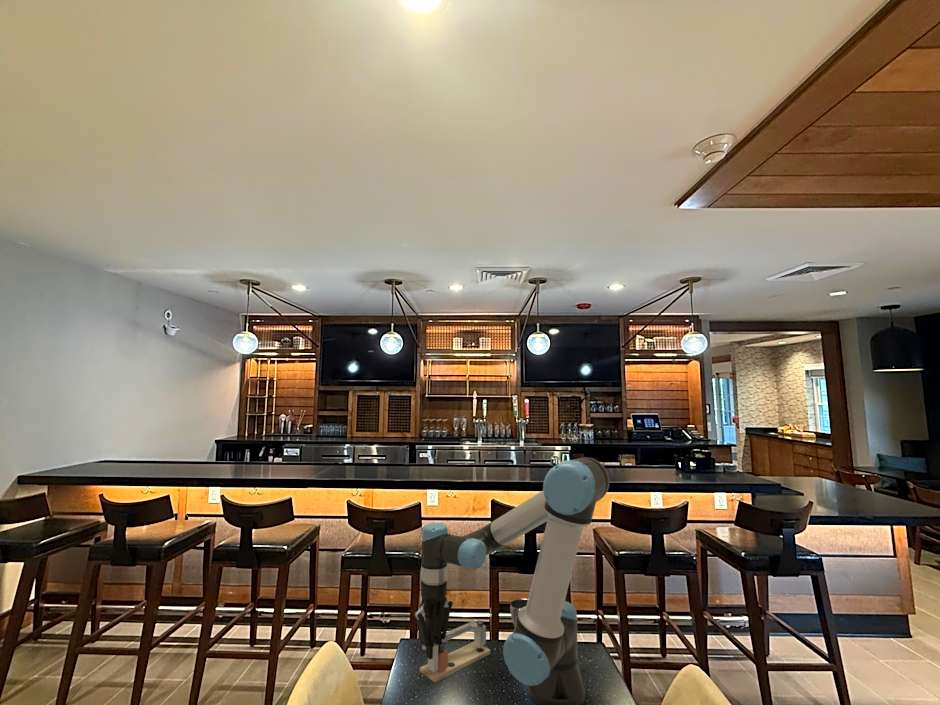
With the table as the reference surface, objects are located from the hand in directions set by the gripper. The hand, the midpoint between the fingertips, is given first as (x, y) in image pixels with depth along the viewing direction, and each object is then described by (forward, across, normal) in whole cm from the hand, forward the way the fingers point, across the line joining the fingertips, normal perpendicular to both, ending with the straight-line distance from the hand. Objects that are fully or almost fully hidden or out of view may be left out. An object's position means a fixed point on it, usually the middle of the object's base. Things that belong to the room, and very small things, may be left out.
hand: (432, 668), depth 128 cm
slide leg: (+1, -3, -3) cm, 5 cm away
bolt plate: (+3, -10, -2) cm, 11 cm away
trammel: (+2, -10, -2) cm, 10 cm away
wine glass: (+3, -28, +10) cm, 30 cm away
